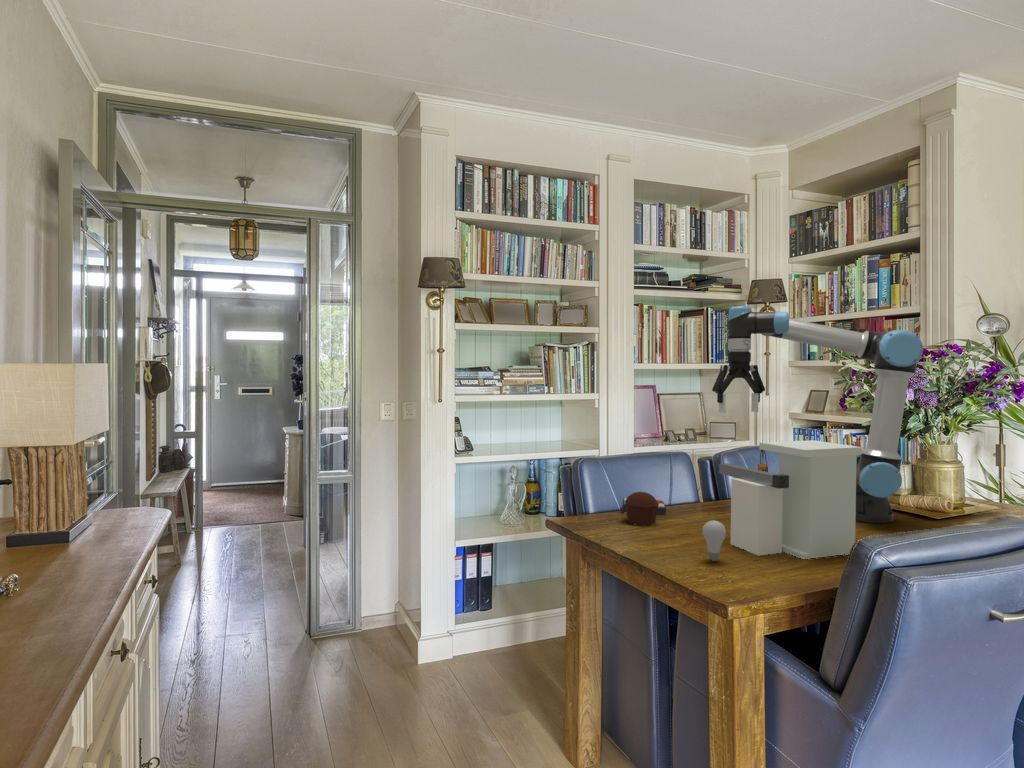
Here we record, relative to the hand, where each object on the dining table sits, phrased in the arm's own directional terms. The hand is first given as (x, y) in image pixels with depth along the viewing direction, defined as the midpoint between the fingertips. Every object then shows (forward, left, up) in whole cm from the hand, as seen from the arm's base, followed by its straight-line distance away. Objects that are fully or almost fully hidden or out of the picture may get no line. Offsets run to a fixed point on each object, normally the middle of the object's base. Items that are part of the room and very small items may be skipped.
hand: (738, 412), depth 222 cm
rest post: (+8, +39, -37) cm, 54 cm away
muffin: (+35, +9, -37) cm, 52 cm away
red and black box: (+31, -8, -37) cm, 49 cm away
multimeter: (-25, -35, -37) cm, 57 cm away
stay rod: (+8, +37, -17) cm, 42 cm away
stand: (-8, +38, -37) cm, 53 cm away
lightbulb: (+23, +52, -37) cm, 68 cm away
